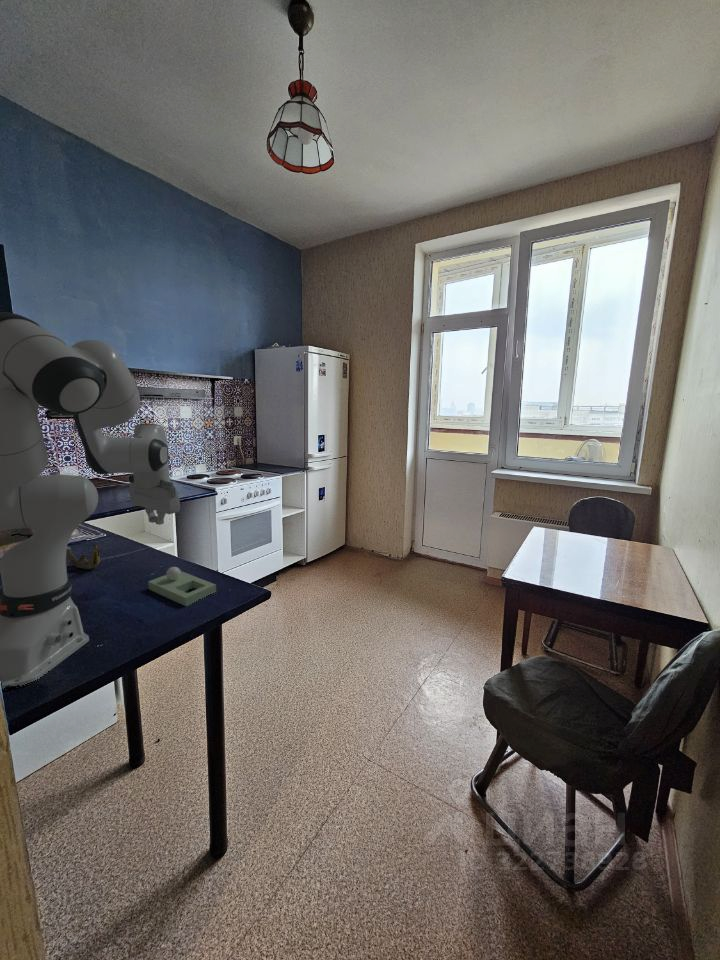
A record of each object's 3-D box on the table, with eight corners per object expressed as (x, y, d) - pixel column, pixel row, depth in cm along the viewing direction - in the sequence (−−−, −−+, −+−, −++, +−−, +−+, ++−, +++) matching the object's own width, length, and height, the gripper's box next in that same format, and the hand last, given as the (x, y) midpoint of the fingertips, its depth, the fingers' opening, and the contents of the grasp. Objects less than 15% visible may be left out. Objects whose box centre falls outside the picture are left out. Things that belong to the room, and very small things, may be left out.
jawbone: (80, 564, 120) (73, 535, 123) (70, 579, 129) (63, 551, 132) (114, 557, 127) (107, 529, 130) (102, 571, 136) (95, 545, 139)
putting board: (216, 592, 115) (215, 584, 115) (186, 606, 107) (185, 598, 106) (179, 577, 124) (178, 570, 124) (148, 589, 116) (148, 581, 116)
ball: (178, 582, 115) (177, 569, 115) (164, 582, 115) (163, 570, 114) (182, 576, 119) (182, 564, 119) (169, 576, 119) (168, 564, 118)
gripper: (184, 481, 112) (186, 526, 115) (144, 473, 123) (147, 515, 125) (163, 484, 107) (167, 532, 110) (124, 475, 118) (127, 519, 120)
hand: (156, 523), depth 118 cm, fingers open, 2 cm apart
